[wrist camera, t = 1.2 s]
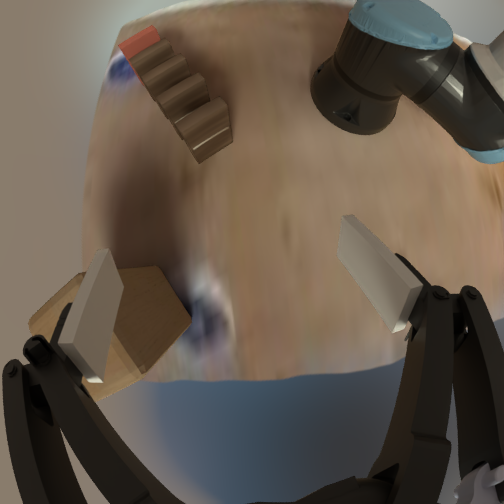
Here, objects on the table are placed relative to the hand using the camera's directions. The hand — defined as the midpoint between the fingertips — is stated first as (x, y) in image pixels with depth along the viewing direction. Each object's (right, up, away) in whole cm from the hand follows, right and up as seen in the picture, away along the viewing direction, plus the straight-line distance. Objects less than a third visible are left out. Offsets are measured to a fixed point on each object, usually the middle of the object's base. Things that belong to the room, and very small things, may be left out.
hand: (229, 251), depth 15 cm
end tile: (-16, +32, +24) cm, 43 cm away
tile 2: (-7, +19, +24) cm, 32 cm away
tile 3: (-10, +24, +24) cm, 35 cm away
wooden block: (-14, -8, +23) cm, 28 cm away
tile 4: (-13, +28, +24) cm, 39 cm away
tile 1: (-5, +15, +24) cm, 29 cm away
